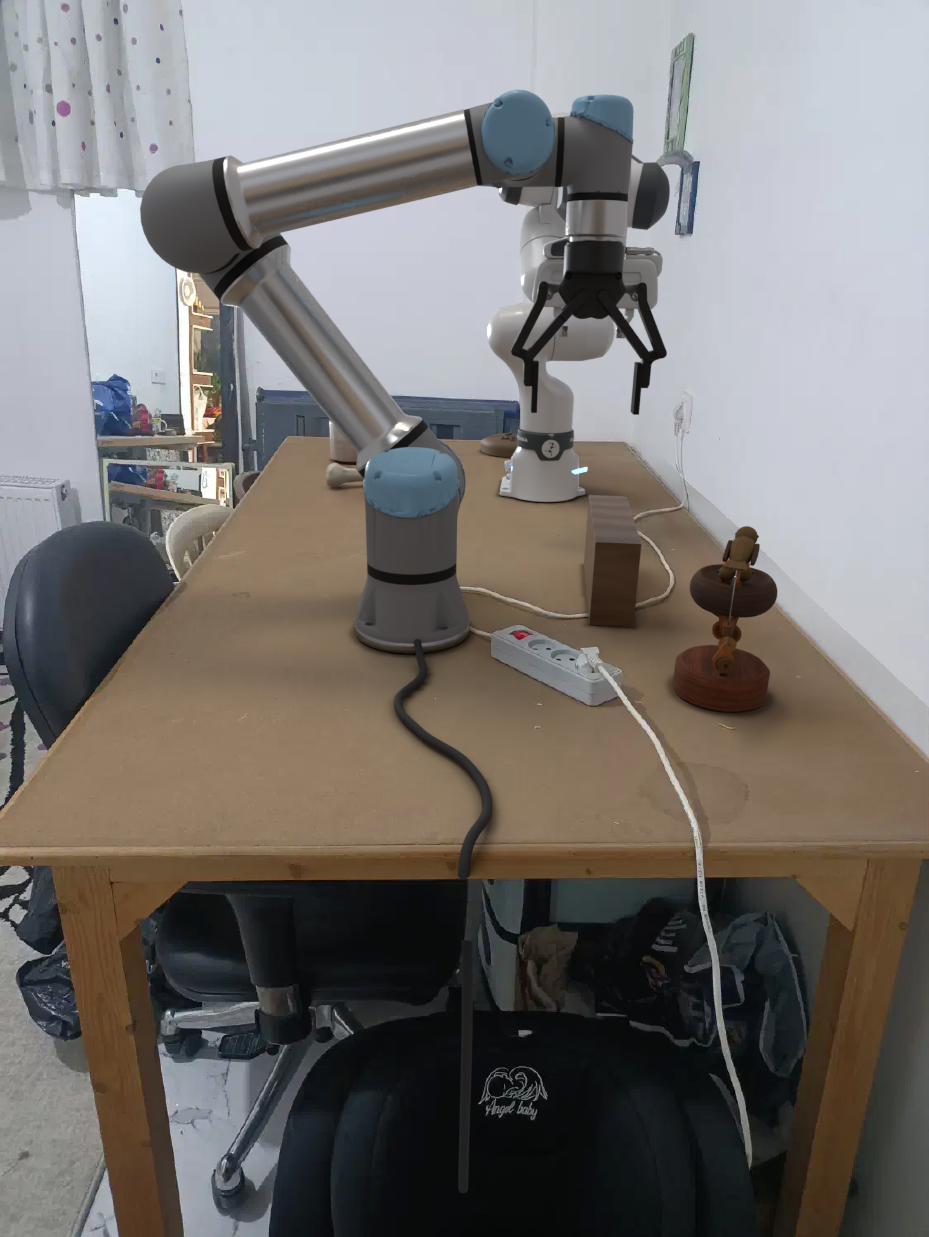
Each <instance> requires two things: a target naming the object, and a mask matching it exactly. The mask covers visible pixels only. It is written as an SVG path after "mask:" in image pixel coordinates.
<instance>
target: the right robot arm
mask: <svg viewBox="0 0 929 1237" xmlns="http://www.w3.org/2000/svg"><path fill="white" fill-rule="evenodd" d="M551 116H552V117H557V118H558V117H564V116H570V112H569V113H568V112H562V111H560V112H555V113H551ZM497 191H498V195H499V197H500V199H501V200H502V201H503V202H505V203H507V204H510V205H513V206H518V205H522V206H528V207H532V208H531V209H530V210H529V211H527V213H526V214H525V215H524V217H523V219H522V222H521V228H520V232H519V234H520V235H519V243H518V244H519V245H518V246H519V247H518V253H519V254H518V255H519V256H518V259H519V260H518V261H519V275H520V287H521V290H522V292H523V294H524V295H525V297H526V298H527V299H528V300H529V301H530V302H531V303H522V302H521V303H515V304H509V305H504V306H501V307H498V308H497V309H496V310H494V312H493V313H492V315H491V317H490V318H489V322H488V324H487V328H486V338H487V342H488V344H489V347H490V350H492V352H493V354H494V355H495V356H496V357H498V358H499V359H500V360H502V361H503V363H504V364H505V365H506V366H507V367H508V369H509V370H510V371H511V374H512V375H513V377H514V380H515V382H516V384H517V387H518V393H519V406H520V407H519V410H520V411H519V427H518V428H517V432H516V433H517V445H518V446H517V448H516V450H515V452H514V454H513V456H512V457H510V459H507V460H504V462H503V463H504V466H503V471H504V472H509V473H506V475H505V476H502V478H501V483H500V489H499V495H500V496H502V497H508V498H509V497H510V498H514V499H519V500H523V501H528V502H539V503H555V502H556V503H557V502H564V501H569V500H572V499H575V498H576V497H581V496H584V495H586V489H585V488H584V487H581V486H580V474H582V473H586V472H588V466H584V467H581V468H580V456H579V455H578V454H577V453H575V451H574V450H573V448H574V442H575V430H574V429H573V423H574V422H573V421H574V406H575V396H574V395H575V394H574V392H573V390H572V388H571V387H570V386H569V385H568V384H567V383H566V382H564V381H563V380H561V379H559V378H557V377H556V376H553V375H552V374H550V373H549V372H548V369H547V363H548V362H585V361H590V360H595V359H600V358H602V357H604V356H605V355H606V354H608V353H609V350H610V349H611V347H612V346H613V344H614V340H615V339H626V338H625V337H624V335H623V334H622V332H621V331H620V330H619V328H618V327H617V326H616V327H615V323H614V322H613V320H612V319H611V318H610V316H609V315H608V316H607V317H606V318H603V319H595V318H591V317H590V318H586V319H578V318H576V317H574V316H573V315H572V316H571V317H570V318H569V319H568V320H567V321H566V322H565V323H564V324H563V325H562V327H561V328H560V329H559V330H558V331H557V332H556V334H555V335H554V336H553V337H552V338H551V339H550V340H549V342H548V343H547V344H546V345H545V346H544V347H543V349H542V350H541V351H540V352H539V353H538V354H537V355H536V357H535V358H534V360H533V361H539V374H538V397H537V413H531V388H532V386H525V385H524V382H523V376H524V361H523V360H522V359H521V358H518V357H516V356H513V355H512V354H511V348H512V346H513V344H514V342H515V340H516V338H517V336H518V334H519V332H520V330H521V328H522V326H523V324H524V322H525V320H526V318H527V316H528V314H529V312H530V311H531V309H532V307H533V305H534V303H535V301H536V298H537V291H538V285H539V283H540V282H541V281H546V282H547V283H553V284H560V283H561V282H562V279H563V268H564V249H565V245H566V243H567V242H570V237H567V236H566V235H565V230H566V212H567V195H568V190H567V187H502V188H500V189H498V188H497ZM670 192H671V187H670V180H669V177H668V175H667V173H666V171H665V170H664V169H663V168H662V166H660V164H659V163H658V162H655V161H654V162H643V161H642V160H640V159H639V157H637V156H635V155H634V154H632V159H631V170H630V182H629V193H628V208H627V223H626V235H625V236H624V237H623V238H621V239H620V241H621V243H623V245H624V246H625V250H624V263H623V283H624V285H630V284H636V283H638V282H644V283H646V285H647V301H648V304H649V307H650V309H651V310H653V309H654V308H655V307H656V306H657V305H658V297H659V283H658V281H659V280H658V278H659V277H660V275H661V273H662V270H663V262H664V261H663V256H662V254H661V252H659V251H658V250H655V247H637V246H627V239H628V238H627V236H628V229H629V228H630V229H633V230H634V229H635V230H644V231H648V230H649V229H650V228H652V227H653V226H654V225H656V224H657V223H658V222H660V221H661V219H662V218H663V217H664V215H665V214H666V212H667V209H668V207H669V202H670ZM654 254H655V255H654ZM565 305H566V304H565V303H564V301H563V299H562V298H561V296H560V295H559V293H555V294H554V295H553V298H552V299H551V300H546V303H545V305H544V308H543V310H542V311H541V313H540V315H539V317H538V319H537V321H536V323H535V325H534V327H533V329H532V331H531V333H530V335H529V337H528V339H527V341H526V342H525V344H524V346H523V348H524V349H526V350H528V349H529V347H530V346H531V345H532V344H533V343H534V342H535V340H536V339H537V338H538V337H539V336H540V335H541V333H542V332H543V331H544V330H545V329H546V328H547V326H548V325H549V324H550V323H551V322H552V321H553V319H554V318H555V317H556V316H557V315H558V313H559V312H560V311H561V310H562V308H563V307H564V306H565ZM616 306H617V307H618V309H619V310H620V309H621V310H622V309H624V314H623V316H624V317H626V318H625V319H626V320H627V322H628V323H629V324H631V322H632V319H634V317H635V310H638V309H637V306H636V302H635V301H632V300H631V299H630V297H629V295H628V294H626V293H625V294H624V296H623V297H622V299H621V300H620V301H619V303H618V304H617V305H616Z"/></svg>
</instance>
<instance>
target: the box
mask: <svg viewBox="0 0 929 1237" xmlns="http://www.w3.org/2000/svg"><path fill="white" fill-rule="evenodd" d="M629 502H630V501H629V500H628V496H626V495H625V496H623V495H599V494H589V495H588V503H587V516H586V517H587V518H586V532H585V544H584V545H585V546H584V559H583V571H584V581H585V582H584V583H585V593H586V594H585V595H586V604H587V615H588V624H589V626H607V627H625V628H633V627H634V622H635V614H636V603H637V593H638V583H639V572H640V565H641V564H640V562H641V553H642V541H641V537H640V534H639V532H638V528H637V525H636V522H635V519H634V516H633V512H632V509H631V505H630V503H629Z"/></svg>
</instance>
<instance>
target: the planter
mask: <svg viewBox="0 0 929 1237" xmlns="http://www.w3.org/2000/svg"><path fill="white" fill-rule="evenodd" d="M328 424H329V425H328V426H329V453H330V454H329V455H330V456H329V457H330V459H331V460H332V461H333V462H334V463H338V464H339V463H341V464H357V453H356V451H355V450H354V449H353V448H352V446H351V445H350V444H349V443H348V441H347V440H346V439H345V438H344V436H343V435H342V434H341V433H340V431H339V430H338V429H337V428H336V426H335V425H334V424H333V423H332V421H331V420H329V421H328Z"/></svg>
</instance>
